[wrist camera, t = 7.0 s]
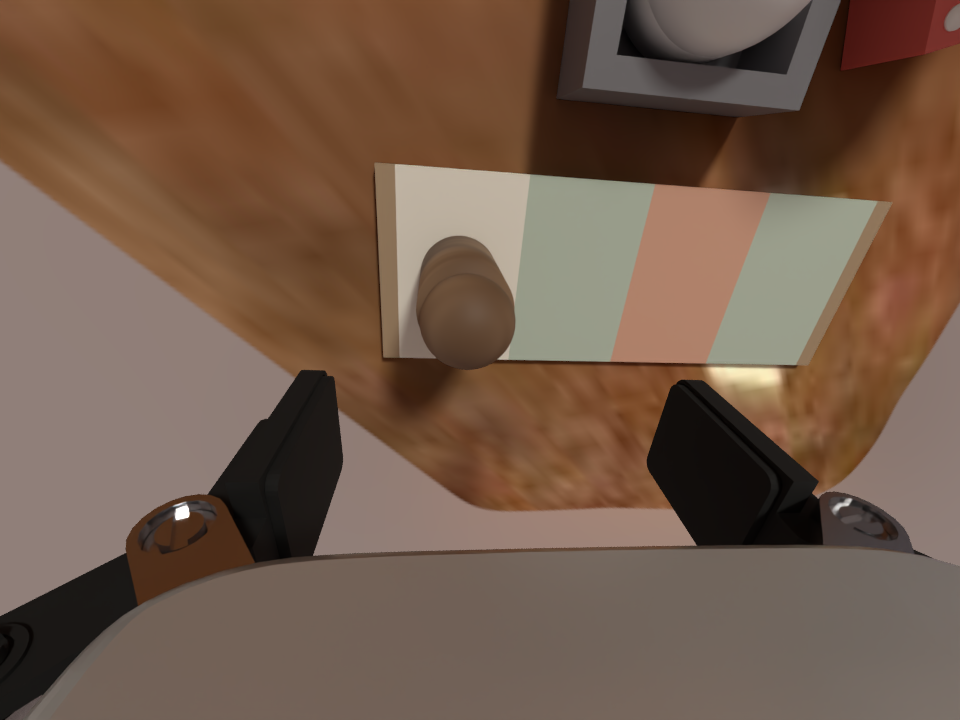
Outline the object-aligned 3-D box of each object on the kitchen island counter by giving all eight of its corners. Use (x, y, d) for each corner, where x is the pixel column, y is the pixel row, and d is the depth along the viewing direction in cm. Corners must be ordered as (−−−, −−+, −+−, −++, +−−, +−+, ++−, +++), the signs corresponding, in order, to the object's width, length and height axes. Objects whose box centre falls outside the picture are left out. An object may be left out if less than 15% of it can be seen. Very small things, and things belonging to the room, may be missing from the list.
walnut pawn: (420, 309, 24) (412, 391, 16) (420, 233, 22) (411, 282, 14) (493, 311, 24) (521, 392, 16) (499, 237, 22) (537, 287, 14)
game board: (384, 353, 25) (383, 357, 25) (376, 162, 20) (374, 162, 20) (801, 361, 29) (808, 365, 28) (882, 201, 24) (892, 202, 23)
